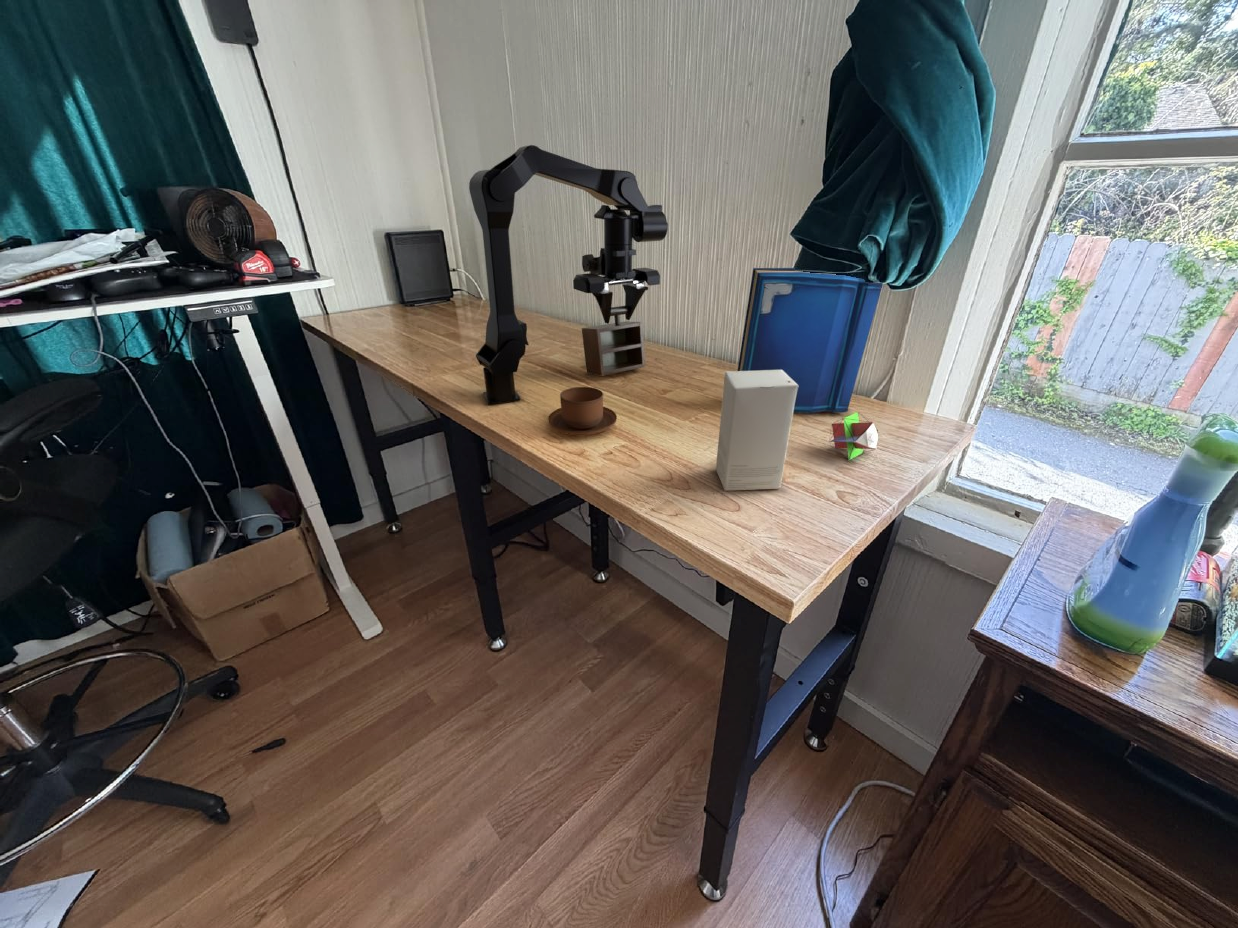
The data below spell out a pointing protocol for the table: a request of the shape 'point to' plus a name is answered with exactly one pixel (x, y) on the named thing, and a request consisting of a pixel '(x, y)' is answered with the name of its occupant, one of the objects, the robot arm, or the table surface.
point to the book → (809, 332)
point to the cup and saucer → (582, 412)
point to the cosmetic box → (754, 428)
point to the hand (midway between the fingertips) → (617, 321)
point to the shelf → (614, 345)
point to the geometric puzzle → (854, 435)
